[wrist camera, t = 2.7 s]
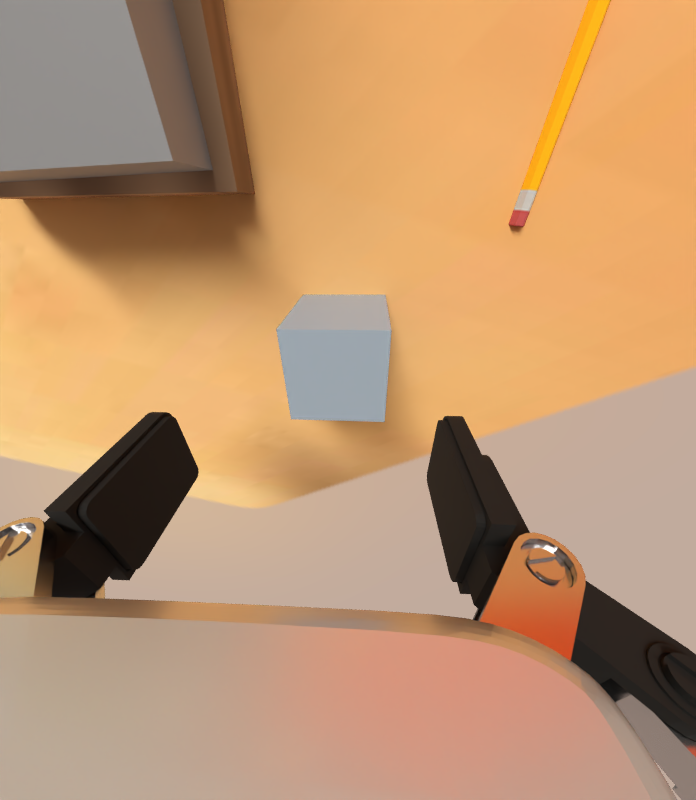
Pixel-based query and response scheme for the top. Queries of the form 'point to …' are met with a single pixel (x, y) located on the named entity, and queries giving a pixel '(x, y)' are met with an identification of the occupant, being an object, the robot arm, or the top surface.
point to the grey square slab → (95, 91)
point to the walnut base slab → (219, 117)
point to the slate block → (336, 357)
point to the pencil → (560, 106)
